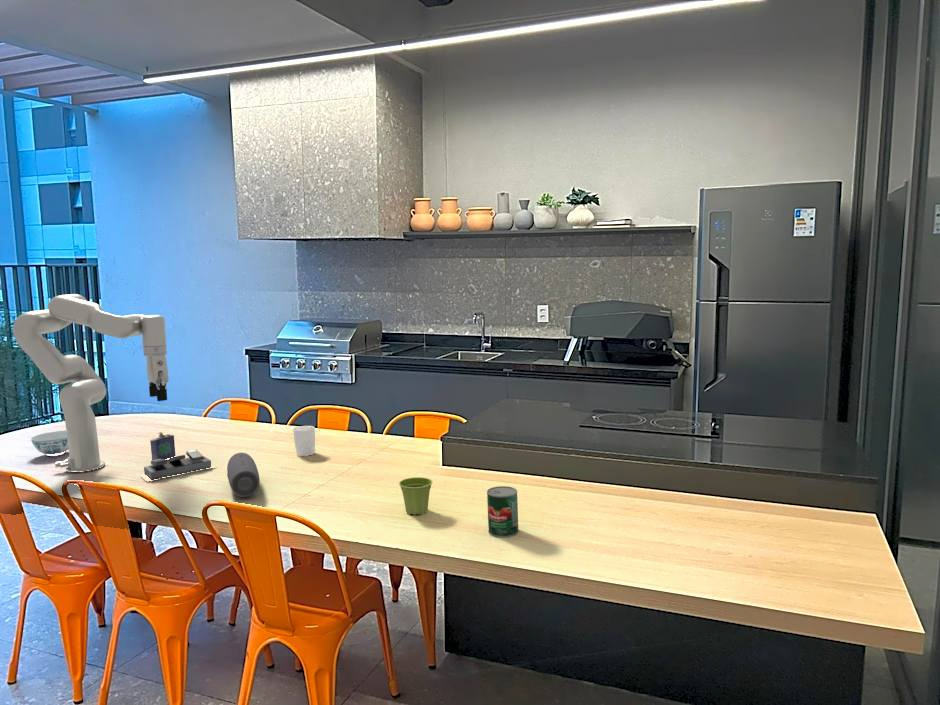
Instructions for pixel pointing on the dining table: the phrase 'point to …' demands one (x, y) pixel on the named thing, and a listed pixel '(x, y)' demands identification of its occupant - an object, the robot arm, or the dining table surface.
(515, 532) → the canned tomato
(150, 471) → the power strip
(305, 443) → the white cup
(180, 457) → the rocker middle
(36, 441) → the chinaware
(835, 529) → the dining table surface
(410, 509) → the plant pot
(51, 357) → the robot arm
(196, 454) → the rocker right
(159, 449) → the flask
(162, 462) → the rocker left
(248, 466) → the bluetooth speaker
